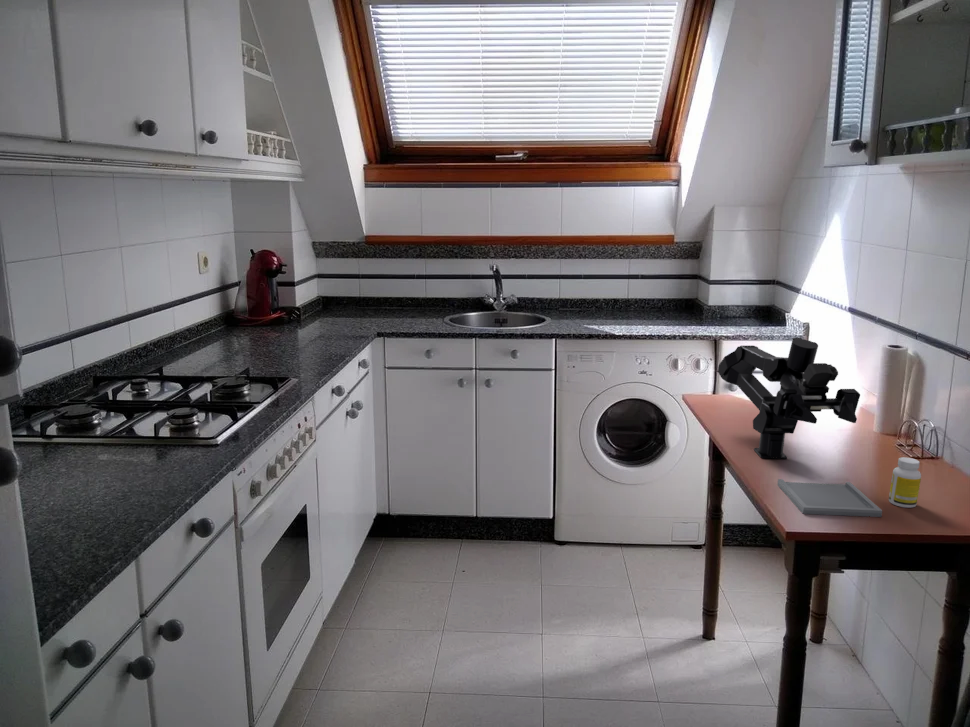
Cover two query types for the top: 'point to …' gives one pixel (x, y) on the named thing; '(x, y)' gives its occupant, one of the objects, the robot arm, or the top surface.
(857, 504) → the gray tray
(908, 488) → the supplement bottle
